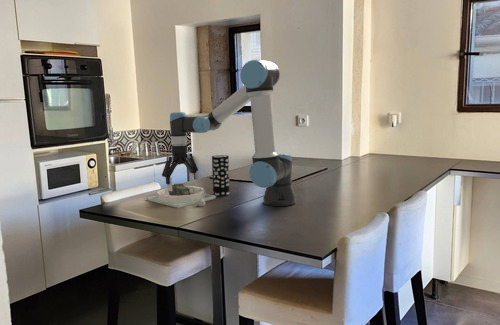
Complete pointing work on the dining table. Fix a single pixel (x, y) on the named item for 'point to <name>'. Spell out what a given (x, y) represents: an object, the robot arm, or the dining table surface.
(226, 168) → the spotted tube
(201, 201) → the pebble
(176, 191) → the stone
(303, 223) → the dining table surface
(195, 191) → the bowl
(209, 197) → the tray
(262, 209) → the dining table surface
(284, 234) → the dining table surface
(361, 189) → the dining table surface
